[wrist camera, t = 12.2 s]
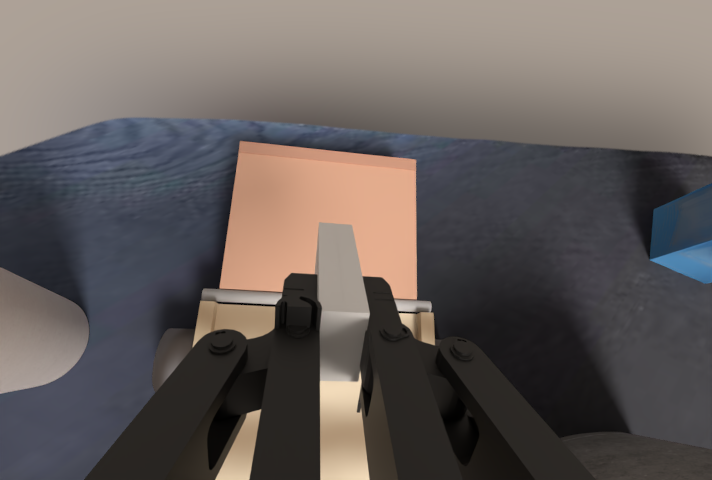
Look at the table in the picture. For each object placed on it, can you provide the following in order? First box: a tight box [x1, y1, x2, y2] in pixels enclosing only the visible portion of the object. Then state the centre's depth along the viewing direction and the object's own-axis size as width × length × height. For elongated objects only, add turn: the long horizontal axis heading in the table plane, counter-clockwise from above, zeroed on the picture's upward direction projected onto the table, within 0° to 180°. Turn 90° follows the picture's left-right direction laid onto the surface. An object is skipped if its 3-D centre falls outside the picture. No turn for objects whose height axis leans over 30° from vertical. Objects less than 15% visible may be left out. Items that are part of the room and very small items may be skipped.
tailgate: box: [202, 141, 432, 313], centre depth 30 cm, size 2×17×13 cm
